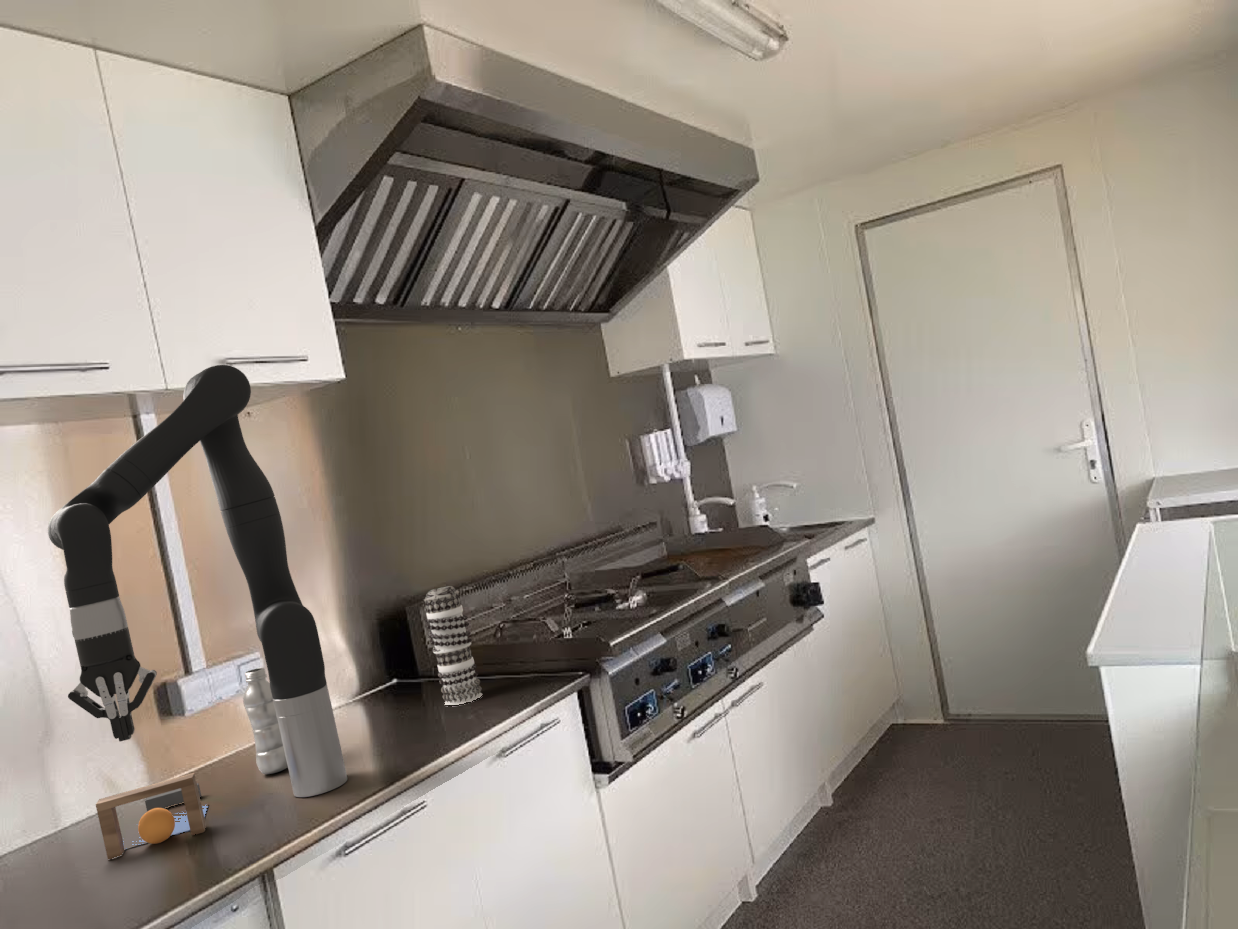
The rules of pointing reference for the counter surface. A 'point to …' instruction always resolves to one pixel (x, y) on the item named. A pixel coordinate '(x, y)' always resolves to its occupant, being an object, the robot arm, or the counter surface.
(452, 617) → the decorative candle
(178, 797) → the strip
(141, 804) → the counter surface
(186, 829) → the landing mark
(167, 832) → the ball
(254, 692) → the plastic bottle
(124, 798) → the bridge
